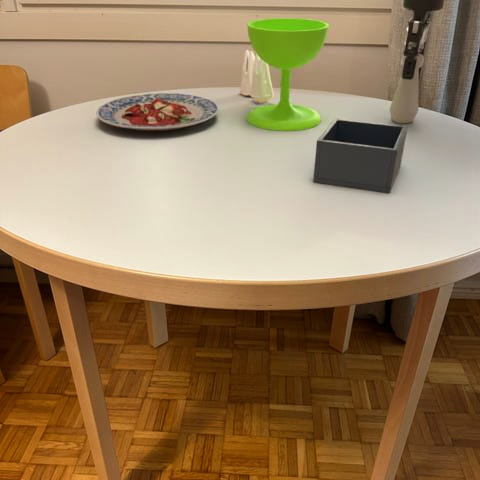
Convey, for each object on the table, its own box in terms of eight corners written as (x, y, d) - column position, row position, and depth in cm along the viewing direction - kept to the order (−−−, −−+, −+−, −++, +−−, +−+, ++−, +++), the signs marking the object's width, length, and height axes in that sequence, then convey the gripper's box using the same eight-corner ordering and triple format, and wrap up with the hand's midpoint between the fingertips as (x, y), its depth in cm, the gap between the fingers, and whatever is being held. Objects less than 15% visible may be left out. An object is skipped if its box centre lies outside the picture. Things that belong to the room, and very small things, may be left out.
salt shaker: (415, 117, 115) (427, 51, 107) (417, 125, 110) (430, 57, 103) (387, 115, 116) (398, 50, 108) (388, 123, 111) (399, 56, 103)
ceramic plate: (75, 118, 114) (72, 104, 113) (171, 97, 128) (170, 84, 126) (142, 148, 99) (140, 132, 97) (243, 120, 113) (243, 106, 111)
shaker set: (274, 104, 123) (276, 52, 116) (258, 106, 122) (259, 53, 115) (254, 92, 132) (255, 42, 125) (238, 93, 131) (238, 43, 124)
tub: (400, 165, 92) (407, 126, 88) (389, 193, 83) (397, 150, 79) (330, 156, 96) (334, 118, 92) (313, 182, 87) (316, 140, 82)
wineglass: (332, 115, 116) (342, 22, 105) (301, 135, 105) (307, 34, 94) (268, 104, 123) (271, 16, 112) (232, 122, 112) (231, 26, 101)
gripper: (445, -17, 91) (425, 84, 101) (450, -23, 102) (432, 68, 112) (401, -18, 93) (385, 80, 103) (410, -25, 104) (395, 65, 114)
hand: (409, 74), depth 107 cm, fingers open, 8 cm apart
